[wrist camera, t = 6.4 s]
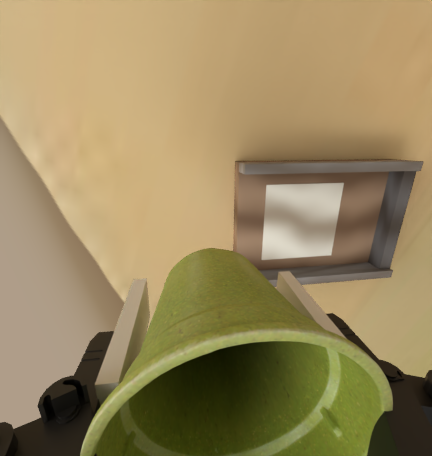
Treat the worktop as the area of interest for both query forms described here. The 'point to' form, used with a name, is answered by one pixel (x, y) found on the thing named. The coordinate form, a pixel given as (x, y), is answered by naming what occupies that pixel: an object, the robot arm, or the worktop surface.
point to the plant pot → (238, 375)
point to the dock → (321, 216)
